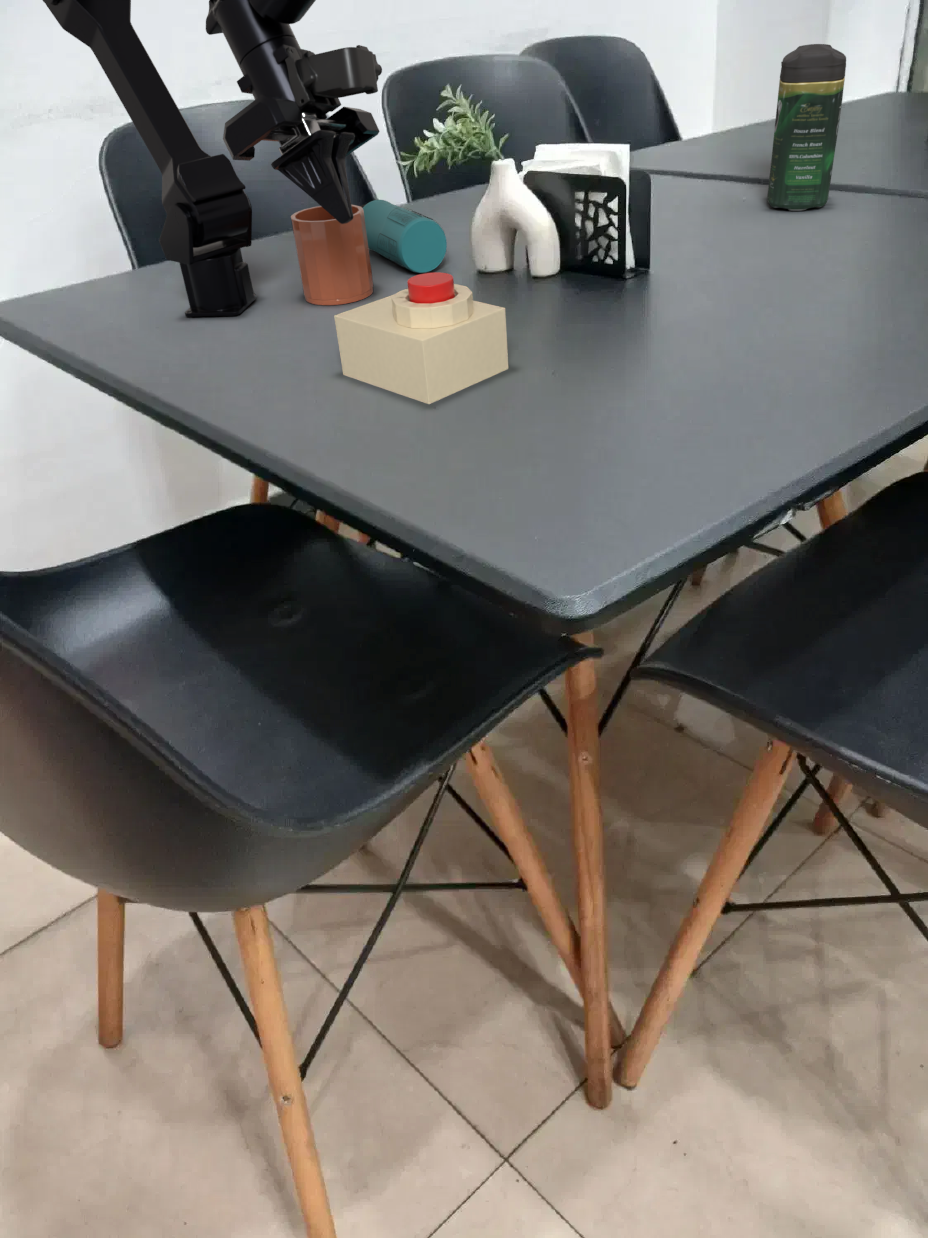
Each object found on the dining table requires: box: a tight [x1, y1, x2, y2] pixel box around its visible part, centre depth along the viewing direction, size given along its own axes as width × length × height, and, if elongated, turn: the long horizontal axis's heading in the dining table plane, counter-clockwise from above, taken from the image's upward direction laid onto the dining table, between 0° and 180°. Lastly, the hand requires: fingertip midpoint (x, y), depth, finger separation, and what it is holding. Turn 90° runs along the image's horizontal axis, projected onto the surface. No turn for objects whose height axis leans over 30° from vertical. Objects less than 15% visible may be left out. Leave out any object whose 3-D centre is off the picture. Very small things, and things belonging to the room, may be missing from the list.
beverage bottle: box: [359, 199, 448, 275], centre depth 121 cm, size 6×7×20 cm
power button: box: [406, 271, 455, 304], centre depth 85 cm, size 4×4×2 cm
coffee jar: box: [767, 43, 847, 212], centre depth 125 cm, size 10×8×19 cm
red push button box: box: [333, 283, 509, 405], centre depth 88 cm, size 12×10×8 cm
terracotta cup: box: [290, 204, 374, 306], centre depth 110 cm, size 8×8×9 cm
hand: (347, 221), depth 91 cm, fingers closed
